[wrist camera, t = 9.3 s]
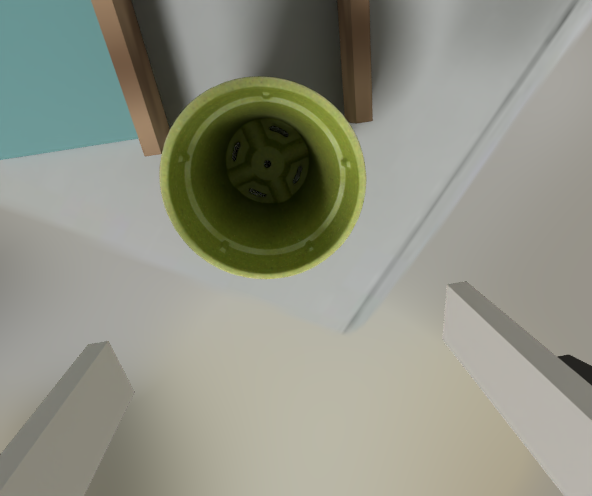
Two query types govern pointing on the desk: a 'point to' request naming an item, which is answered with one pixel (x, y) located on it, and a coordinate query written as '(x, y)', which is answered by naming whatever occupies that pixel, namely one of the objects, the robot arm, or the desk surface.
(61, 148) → the pad
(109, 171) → the desk surface
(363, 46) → the channel
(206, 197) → the plant pot
